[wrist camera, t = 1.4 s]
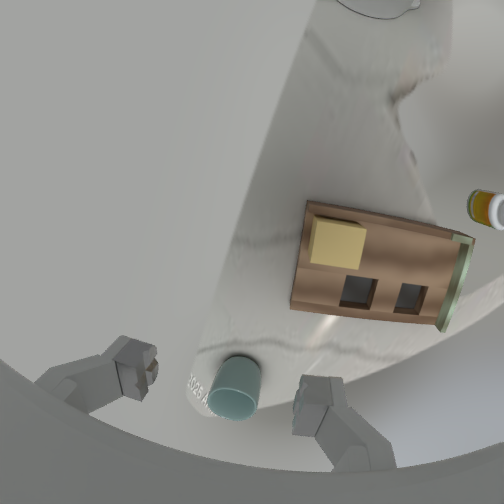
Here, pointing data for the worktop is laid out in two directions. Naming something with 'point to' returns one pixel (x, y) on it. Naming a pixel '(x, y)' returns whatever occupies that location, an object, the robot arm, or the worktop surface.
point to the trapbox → (386, 271)
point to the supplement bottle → (487, 208)
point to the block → (336, 242)
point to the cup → (235, 389)
